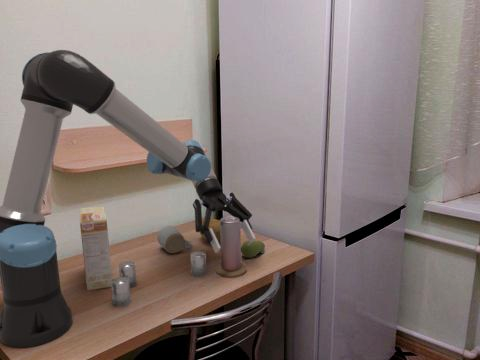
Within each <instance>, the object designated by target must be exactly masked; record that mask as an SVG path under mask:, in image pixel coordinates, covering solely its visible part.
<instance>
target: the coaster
mask: <svg viewBox="0 0 480 360" xmlns="http://www.w3.org/2000/svg"><path fill="white" fill-rule="evenodd" d="M215 272H216V274H217V275H218V276H220V277H224V278H238V277H241V276H244V275H245V274H246V273H247V265H245V264H244V263H242V262H241V267H240V268H239V269H238V270H236V271H225V270H223V269H222V267H221V263H219V264H218V265H216V267H215Z"/></svg>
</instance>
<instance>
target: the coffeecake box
mask: <svg viewBox="0 0 480 360" xmlns="http://www.w3.org/2000/svg"><path fill="white" fill-rule="evenodd" d="M79 226H80V236H81V245H82V255H83V266H84V274H85V282H86V290H87V291H92V290H94V291H95V290H97V289H98V290H99V289H104V288H112V287H111V281H112V280H113V272H112V271H113V270H112V263H111V249H110V241H109V240H110V239H109V231H108V220H107V215H106V210H105V206H104V205H103V206H102V205H101V206H93V207H92V206H91V207H88V206H87V207H81V208H79Z"/></svg>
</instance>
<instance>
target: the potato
mask: <svg viewBox="0 0 480 360" xmlns="http://www.w3.org/2000/svg"><path fill="white" fill-rule="evenodd" d="M204 219H205V217H204V218H202V226H203V223H204ZM209 228H212V230H213V232H214V234H215V236H216V238H217V240H218V243H220V219H215V218H212V217H211V219H210V224H209ZM209 228H208V229H209ZM199 234H200V235H201V238H203V239H204V240H206V241H207V239H206V237H205V235H204V234H202V233H201V232H199Z"/></svg>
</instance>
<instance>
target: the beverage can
mask: <svg viewBox="0 0 480 360" xmlns="http://www.w3.org/2000/svg"><path fill="white" fill-rule="evenodd" d="M219 220H220V242H219V245H220V247H221V248H220V264H221V267H222V269H223V270H225V271H236V270H238V269H239V268H240V267H241V263H242V253H241V246H242V244H241V239H242V238H241V237H242V235H241V222H240V221H239V220H240V219H239V218H237V217H233V216H225V217H221V218H220V219H219Z"/></svg>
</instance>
